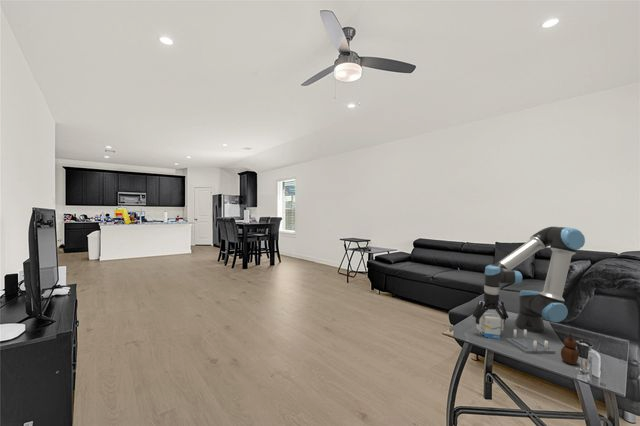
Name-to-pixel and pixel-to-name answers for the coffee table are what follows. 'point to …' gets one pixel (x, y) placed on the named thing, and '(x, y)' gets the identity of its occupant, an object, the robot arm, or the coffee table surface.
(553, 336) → the coffee table surface
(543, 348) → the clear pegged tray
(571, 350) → the wooden figurine
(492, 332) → the ink box
